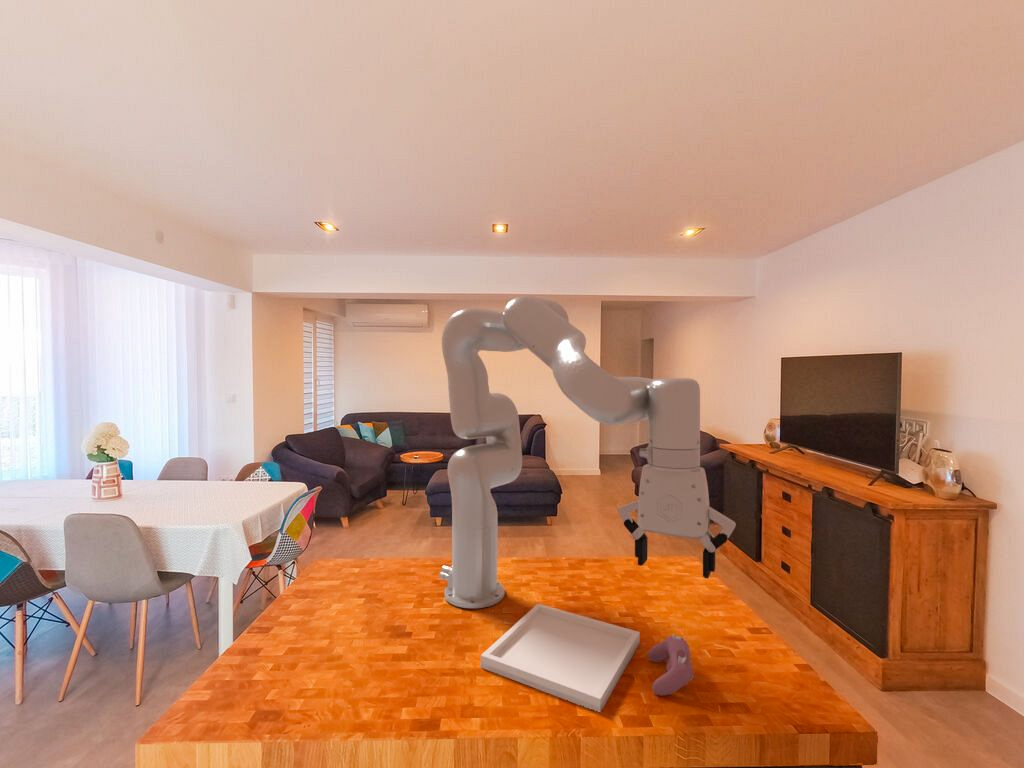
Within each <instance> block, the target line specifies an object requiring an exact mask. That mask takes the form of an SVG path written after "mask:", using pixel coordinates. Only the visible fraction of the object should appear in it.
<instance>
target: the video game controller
mask: <svg viewBox="0 0 1024 768" xmlns="http://www.w3.org/2000/svg"><path fill="white" fill-rule="evenodd" d="M647 657H648V659H649V660H650V662H653V663H661V662H665V661H667V663H666V669H665V670H666V671H667V672H666V673H664V674H662V675H661V676H660V677H658V678H657V679H655V680H654V682H653V683H652V686H651V687H652V691H653V693H654V694H655V695H657V696H661V697H662V696H669V695H671V694H674V693H676V692H677V691H679V690H680V689H682V687H685V686H686V685H688V683H689V682H690V681H692V680H693V678H694V672H693V669H694V665H693V663H692V662H691V649H690V647H689V644H688V642H687V641H686V639H684V638H683V637H681V636H676V635H675V634H674V633H673V634H672V635H669V636H667V637H666V638H665V639H664V640H663V641H661V642H659V643H658V644H655V645H654V646H652V647H651V648H650V649H649V650H648V654H647Z"/></svg>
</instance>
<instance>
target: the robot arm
mask: <svg viewBox="0 0 1024 768" xmlns="http://www.w3.org/2000/svg"><path fill="white" fill-rule="evenodd" d="M586 338H587V337H586V335H585V334H584V332H582V331H581V330H580V329H578V328H577V327H576V326H575V325H573V324H571V323H570V321H569V315H568V313H567V311H566V309H565V308H564V307H563V306H562V304H560V303H558V302H556V301H554V300H551V299H546V298H541V297H537V296H530V295H521V296H517V297H515V298H513V299H511V300H510V301H509V302H508V303H507V304H506V305H505V307H504V309H503V311H499V310H498V311H497V310H492V309H487V308H478V307H477V308H475V307H473V308H470V307H469V308H464V309H461V310H458V311H456V312H455V313H453V314H452V315H451V316H450V317H449V318H448V320H447V321H446V323H445V325H444V327H443V330H442V335H441V349H442V357H443V360H444V365H445V369H446V375H447V385H448V386H447V387H448V398H449V400H448V401H449V410H450V411H449V412H450V414H449V415H450V423H451V426H452V427H451V429H452V431H453V432H454V434H455V436H457V437H459V438H460V439H463V440H475V439H476V440H477V439H484V438H485V439H486V443H480V444H475V445H474V444H473V445H470V446H466V447H463V448H460V449H458V450H457V451H455V452H454V453H453V454H452V455H451V457H450V458H449V460H448V463H447V478H448V482H449V483H448V484H449V488H450V496H451V511H452V514H451V517H452V518H451V519H452V520H451V524H452V525H451V533H452V535H451V537H452V538H451V539H452V540H451V542H452V546H451V549H452V550H451V552H452V553H451V556H452V557H451V566H450V565H443V566H442V567H441V570H440V572H439V574H438V578H439V579H441V580H444V581H445V580H446V581H447V586H445V589H444V598H445V600H446V601H447V602H448V603H449V604H451V605H453V606H454V607H457V608H462V609H463V608H464V609H484V608H487V607H488V608H489V607H491V606H495V605H496V604H498V603H499V602H500V601H502V600H503V598H504V597H505V587H504V585H503V583H501V582H499V581H498V526H499V525H498V522H499V521H498V508H497V504H496V501H495V499H494V497H493V495H492V493H491V489H494V488H497V487H499V486H504V485H506V484H510V483H512V482H514V481H515V480H517V478H518V477H519V476H520V474H521V471H522V467H523V452H522V441H521V440H522V439H521V428H520V427H521V426H520V420H519V419H520V418H519V413H518V408H517V407H516V405H515V403H514V402H513V400H512V399H511V398H510V397H509V396H508V395H506V394H503V393H499V392H498V393H497V392H492V393H491V392H490V387H489V375H488V374H489V373H488V371H487V368H486V367H487V366H486V365H485V363H484V361H483V359H482V357H480V355H479V352H480V351H487V352H503V353H506V352H507V353H509V352H516V351H522V350H525V349H527V350H528V351H530V352H531V353H532V354H534V356H536V357H537V358H538V359H539V360H540V361H541V362H543V363H544V364H545V365H546V366H547V367H549V369H551V371H552V374H553V377H554V380H555V381H556V384H557V386H558V388H559V389H560V391H561V392H562V393H563V395H564V396H565V397H566V398H568V400H569V401H571V402H572V403H573V404H574V405H575V406H576V407H577V408H579V409H580V410H581V411H582V412H583V413H584V414H586V415H587V416H589V417H590V418H591V419H592V420H594V421H597V422H598V423H600V424H602V425H606V426H619V425H624V424H632V423H638V422H643V421H648V445H647V447H645V448H642V447H641V448H639V452H638V455H639V457H640V458H645V459H646V461H647V464H645V465H643V466H642V470H641V475H640V481H639V489H638V499H636V500H634V501H632V502H629V503H626V504H625V505H622V506H620V507H619V508H617V512H618V514H619V517H620V518H621V520H622V521H623V526H624V527H625V528H626V529H627V531H628V532H629V533H630V534H631V537H632V538H633V539H634V557H635V558H637V565H638V566H641V567H642V566H643V565H645V563H646V562H647V561H648V536H647V534H646V532H650V533H653V534H654V533H655V534H659V535H660V534H661V535H664V536H665V535H667V536H672V537H678V538H685V539H693V540H694V539H695V540H696V539H697V540H698V541H700V543H701V544H702V545H703V546H704V549H703V551H702V578H704V579H709V578H710V576H711V573H712V572H713V573H714V572H715V571H716V550H717V549H718V548H720V547H722V545H724V544H726V543H727V541H728V540H729V538H730V536H731V535H732V534H733V531H734V530H735V529H736V525H737V524H736V522H735V521H734V520H732V519H731V518H729V517H727V516H726V515H724V514H722V513H721V512H719V511H717V509H714V508H713V507H712V506H710V498H709V495H710V494H709V487H708V480H707V475H706V474H707V473H706V471H705V468H704V467H701V386H700V384H699V382H698V381H697V380H696V379H693V378H689V377H688V378H687V377H669V378H668V377H665V378H664V377H663V378H662V377H661V378H655V379H654V378H647V377H640V376H614V375H612V374H611V373H609V372H608V371H607V370H605V369H604V368H603V367H601V366H600V365H598V364H597V363H596V362H595V361H593V360H592V359H591V358H590V357H589V356H588V355H587V353H586V352H585V349H586V344H587V339H586ZM636 510H637V521H635V519H633V518H632V516H631V512H635V511H636ZM711 521H713V522H714V523H717V524H718V525H719V526H721V527H722V529H721V531H720V532H719V533H718V534H716V535H715V536H714V535H713V534H712V532H711V531H710V530H709V529H710V525H711Z"/></svg>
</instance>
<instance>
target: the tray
mask: <svg viewBox="0 0 1024 768" xmlns="http://www.w3.org/2000/svg"><path fill="white" fill-rule="evenodd" d="M640 634H641V632H640V631H636V630H634V629H631V628H626V627H622V626H620V625H616V624H613V623H610V622H605V621H602V620H597V619H594V618H591V617H587V616H584V615H581V614H576V613H573V612H570V611H566V610H562V609H559V608H555V607H552V606H548V605H545V604H540V603H537V604H536V605H534V606H533V607H532V608H531V609H530V610H529V611H528V612H527V613H526V614H524V616H522V617H521V618H520V619H519V620H518V621H516V623H514V624H513V626H512V627H510V628H509V629H508V630H507V631H506V632H505V633H504V634H503V635H502V636H500V637H499V638H498V639H497V640H496V641H495V642H494V643H492V645H490V646H489V647H488V648H487V649H486V650H485V651H484V652H483V653H481V654H480V668H481V669H483V670H485V671H489V672H492V673H494V674H496V675H500V676H501V677H504V678H507V679H510V680H513V681H514V682H517V683H521V684H523V685H525V686H528V687H531V688H534V689H535V690H538V691H541V692H543V693H547V694H549V695H551V696H554V697H556V698H557V697H558V698H559V699H562V700H564V701H567V700H568V701H567V702H571V703H573V704H575V705H577V706H580V705H582V706H581V707H583V706H584V707H583V708H586V709H588V708H589V709H588V710H591V709H593V710H595V711H594V712H596V711H598V712H597V713H599V712H600V713H601V712H602V711H603V708H604V707H605V705H606V703H607V701H608V700H609V698H610V696H611V695H612V693H613V691H614V689H615V687H616V686H617V684H618V682H619V681H620V678H622V675H623V673H624V672H625V670H626V668H627V666H628V665H629V663H630V661H631V659H632V658H633V656H634V654H635V652H636V650H637V649H638V647H639V645H640V638H641V635H640ZM593 710H592V711H593ZM601 710H602V711H601Z"/></svg>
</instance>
